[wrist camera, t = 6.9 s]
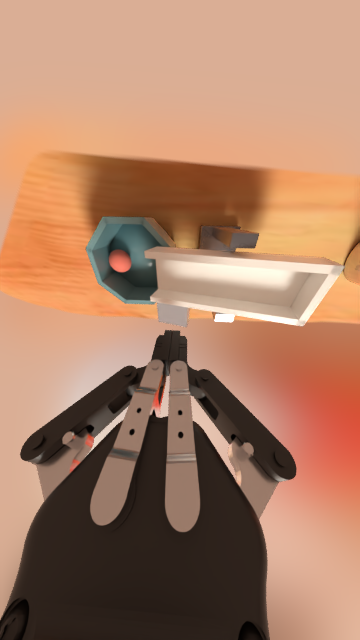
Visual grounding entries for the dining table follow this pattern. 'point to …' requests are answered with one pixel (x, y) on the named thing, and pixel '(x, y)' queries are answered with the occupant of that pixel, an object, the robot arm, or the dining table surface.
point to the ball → (120, 260)
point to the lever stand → (226, 247)
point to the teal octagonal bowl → (133, 240)
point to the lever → (239, 284)
